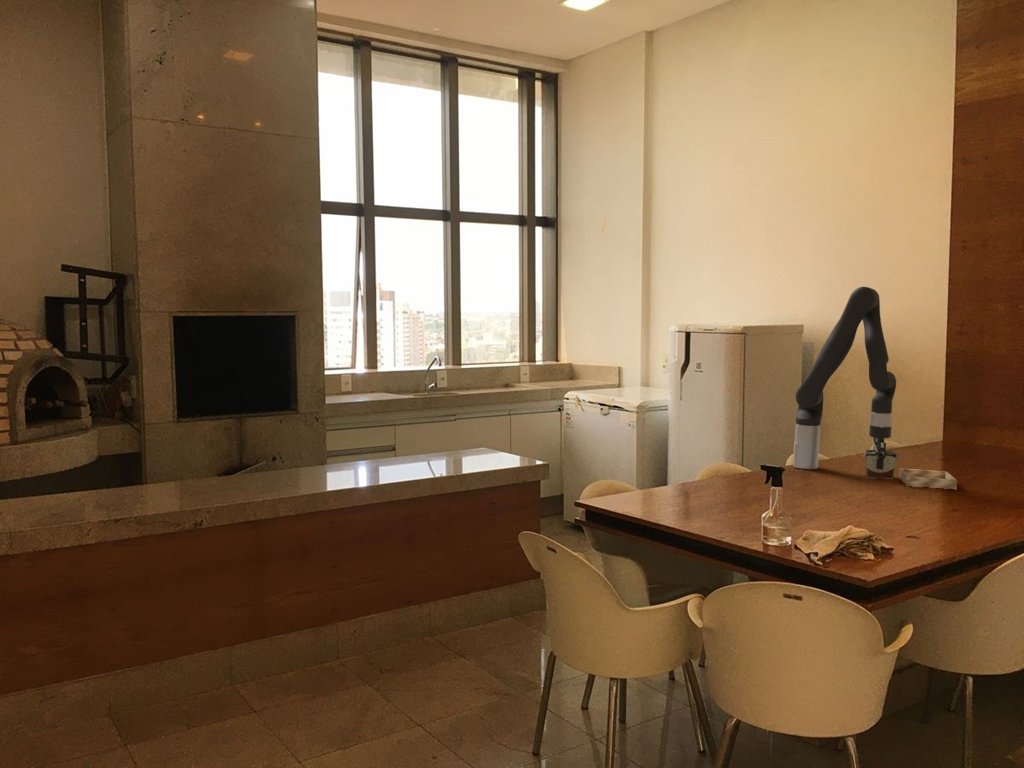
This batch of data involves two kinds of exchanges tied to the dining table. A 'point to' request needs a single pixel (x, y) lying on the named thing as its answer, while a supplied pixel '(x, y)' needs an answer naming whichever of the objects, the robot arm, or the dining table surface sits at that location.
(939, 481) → the whitewashed wooden tray
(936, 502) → the dining table surface
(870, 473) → the food container
